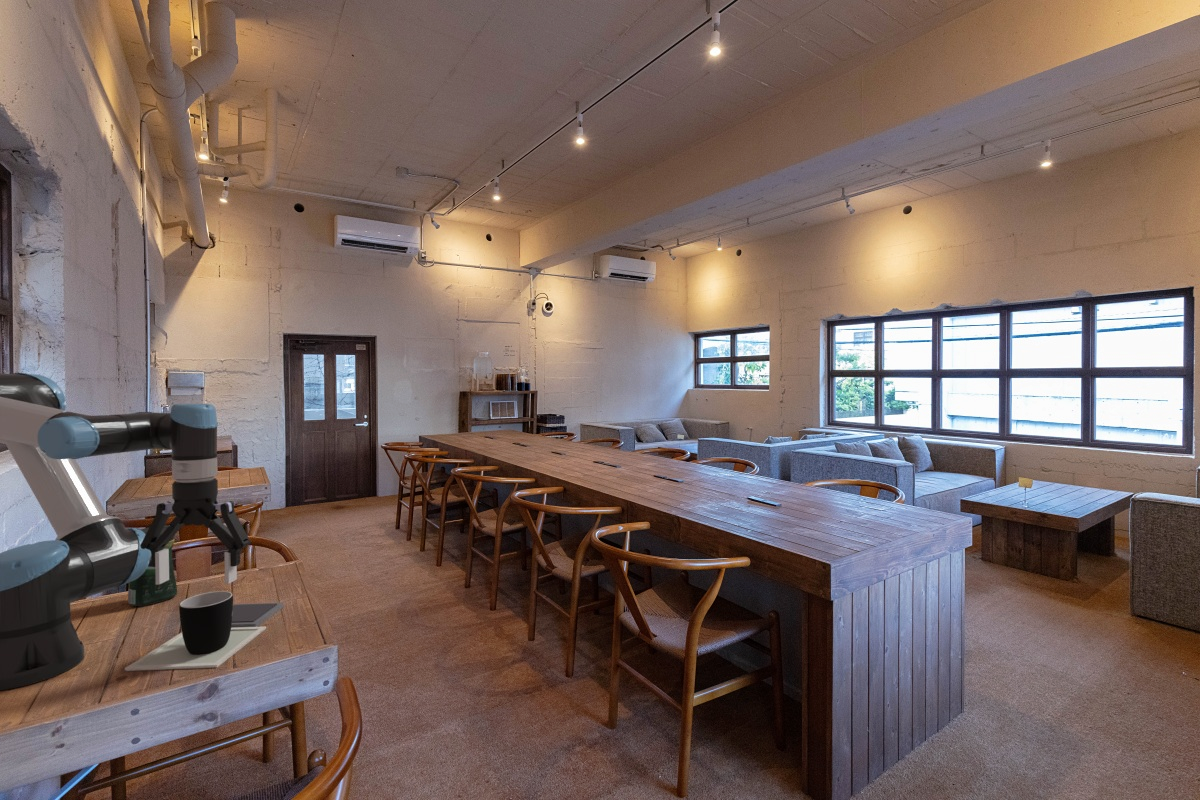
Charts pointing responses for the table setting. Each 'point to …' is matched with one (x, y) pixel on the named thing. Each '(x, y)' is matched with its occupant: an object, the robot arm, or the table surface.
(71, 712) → the table surface
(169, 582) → the coffee jar
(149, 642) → the table surface
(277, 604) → the ink pad
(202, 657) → the marked square
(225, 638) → the mug
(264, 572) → the table surface
